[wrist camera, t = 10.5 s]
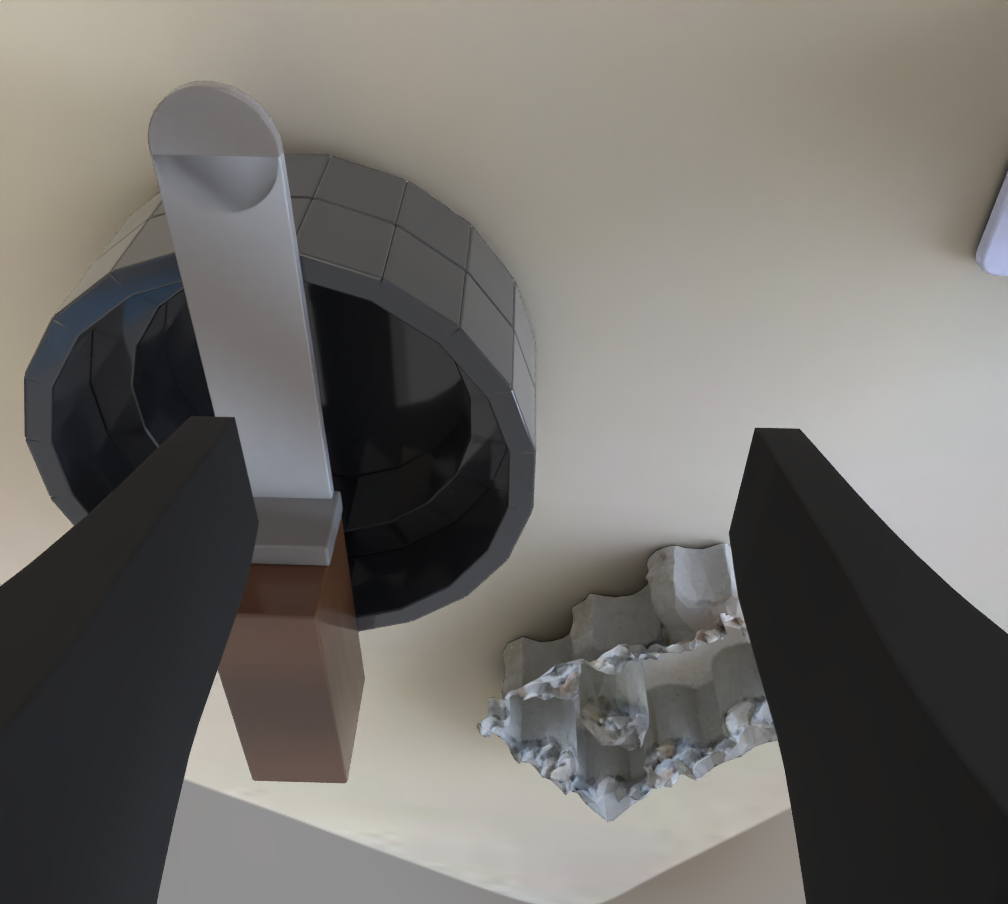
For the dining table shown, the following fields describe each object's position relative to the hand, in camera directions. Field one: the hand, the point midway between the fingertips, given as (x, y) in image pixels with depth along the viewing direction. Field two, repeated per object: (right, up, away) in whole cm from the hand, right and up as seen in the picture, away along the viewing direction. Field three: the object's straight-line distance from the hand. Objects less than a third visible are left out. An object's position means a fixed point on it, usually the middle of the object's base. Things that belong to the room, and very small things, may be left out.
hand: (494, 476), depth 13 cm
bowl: (-5, +3, +11) cm, 12 cm away
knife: (-5, 0, +7) cm, 9 cm away
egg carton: (+5, -6, +19) cm, 21 cm away
